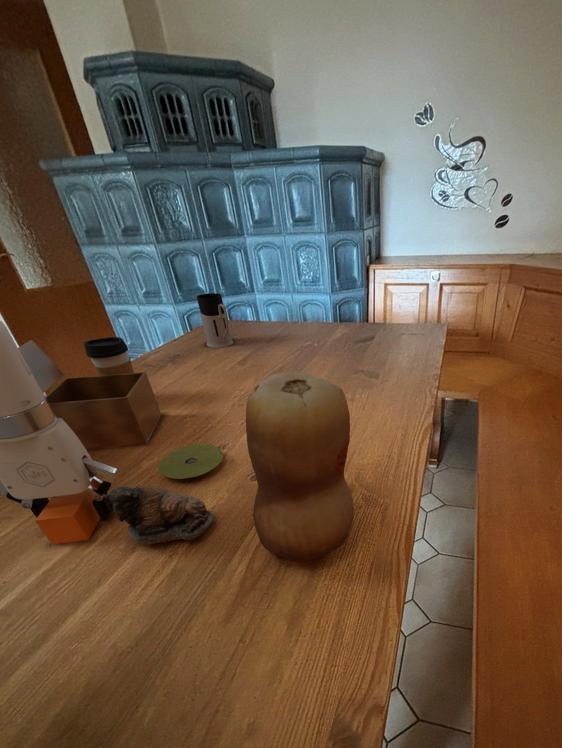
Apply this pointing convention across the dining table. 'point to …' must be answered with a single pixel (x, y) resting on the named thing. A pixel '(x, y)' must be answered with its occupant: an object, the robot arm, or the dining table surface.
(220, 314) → the glass holder
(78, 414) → the carton
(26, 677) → the dining table surface
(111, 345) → the coffee cup
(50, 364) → the carton flap
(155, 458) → the dining table surface
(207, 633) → the dining table surface
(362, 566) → the dining table surface
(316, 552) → the butternut squash
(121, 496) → the bison figurine
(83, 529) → the block
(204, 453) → the mat
